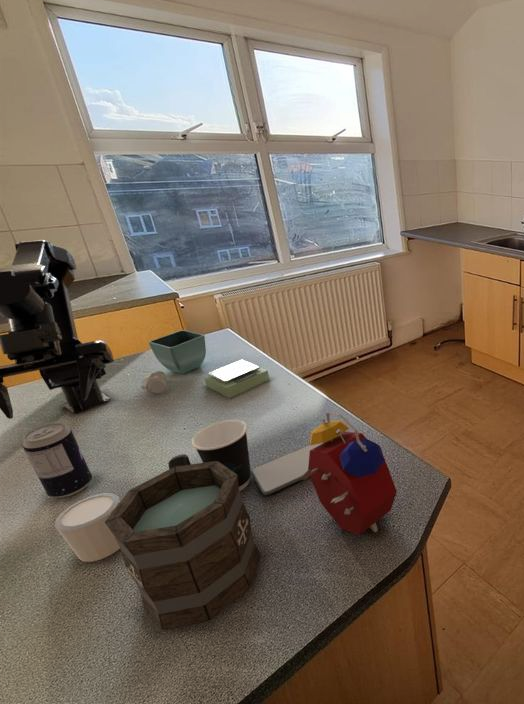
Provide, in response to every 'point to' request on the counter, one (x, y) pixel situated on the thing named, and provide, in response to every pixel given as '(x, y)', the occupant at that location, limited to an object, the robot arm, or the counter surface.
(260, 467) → the smartphone
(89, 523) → the white tapered cup
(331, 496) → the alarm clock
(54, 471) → the beverage can
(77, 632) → the counter surface
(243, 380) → the scale
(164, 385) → the pale two-lobed sculpture
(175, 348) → the flower pot
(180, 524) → the mug
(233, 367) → the pan
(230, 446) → the dixie cup
